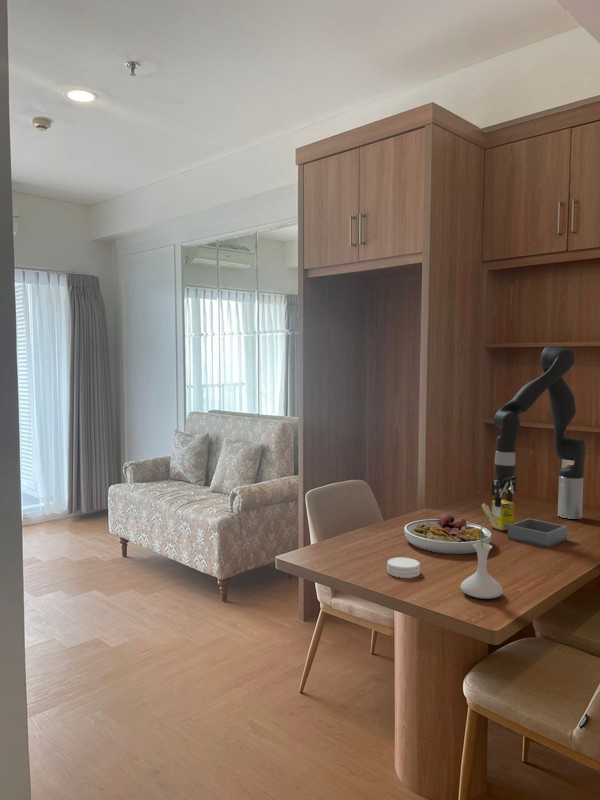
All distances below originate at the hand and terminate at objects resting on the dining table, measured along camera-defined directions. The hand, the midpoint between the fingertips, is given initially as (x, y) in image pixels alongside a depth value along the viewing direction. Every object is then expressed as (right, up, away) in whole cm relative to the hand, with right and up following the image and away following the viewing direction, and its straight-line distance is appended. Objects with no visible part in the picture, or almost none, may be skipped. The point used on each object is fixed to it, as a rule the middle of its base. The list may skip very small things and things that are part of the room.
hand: (503, 505), depth 234 cm
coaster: (-46, -13, -47) cm, 68 cm away
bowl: (-26, -11, -17) cm, 33 cm away
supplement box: (0, -10, +1) cm, 10 cm away
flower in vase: (-27, -14, -64) cm, 71 cm away
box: (+8, -11, -11) cm, 18 cm away
